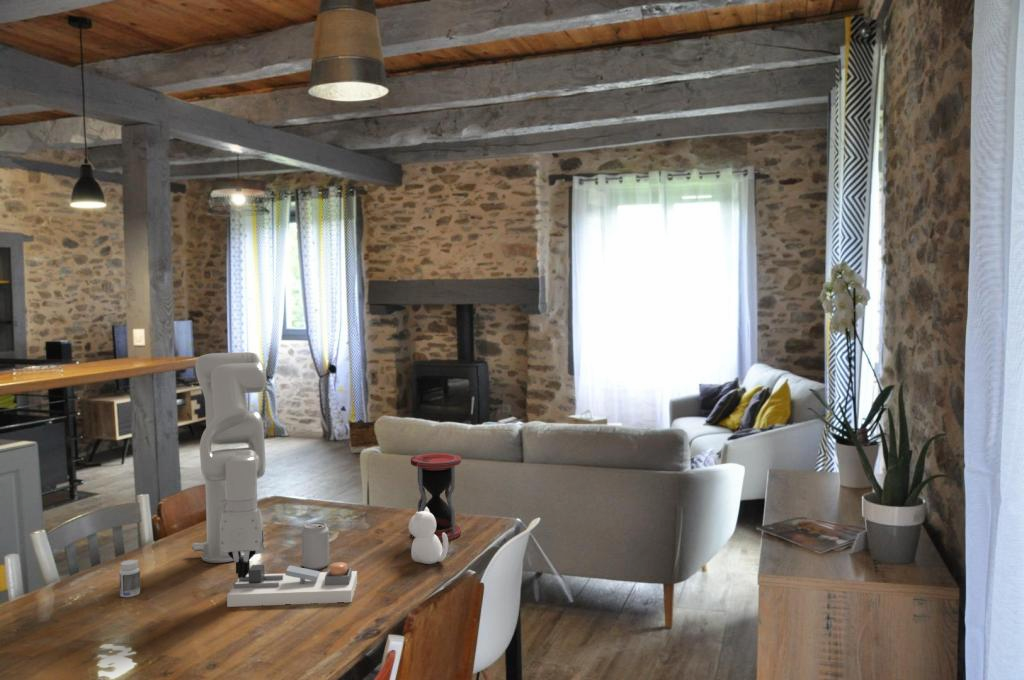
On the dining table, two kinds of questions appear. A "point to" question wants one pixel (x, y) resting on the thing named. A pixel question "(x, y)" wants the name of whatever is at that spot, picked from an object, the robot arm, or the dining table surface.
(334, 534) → the jawbone
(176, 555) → the dining table surface
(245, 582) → the panel
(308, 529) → the can
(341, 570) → the button
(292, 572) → the slate rocker
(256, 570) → the slider
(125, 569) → the pill bottle
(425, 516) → the cat figurine
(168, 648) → the dining table surface
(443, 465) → the hourglass
